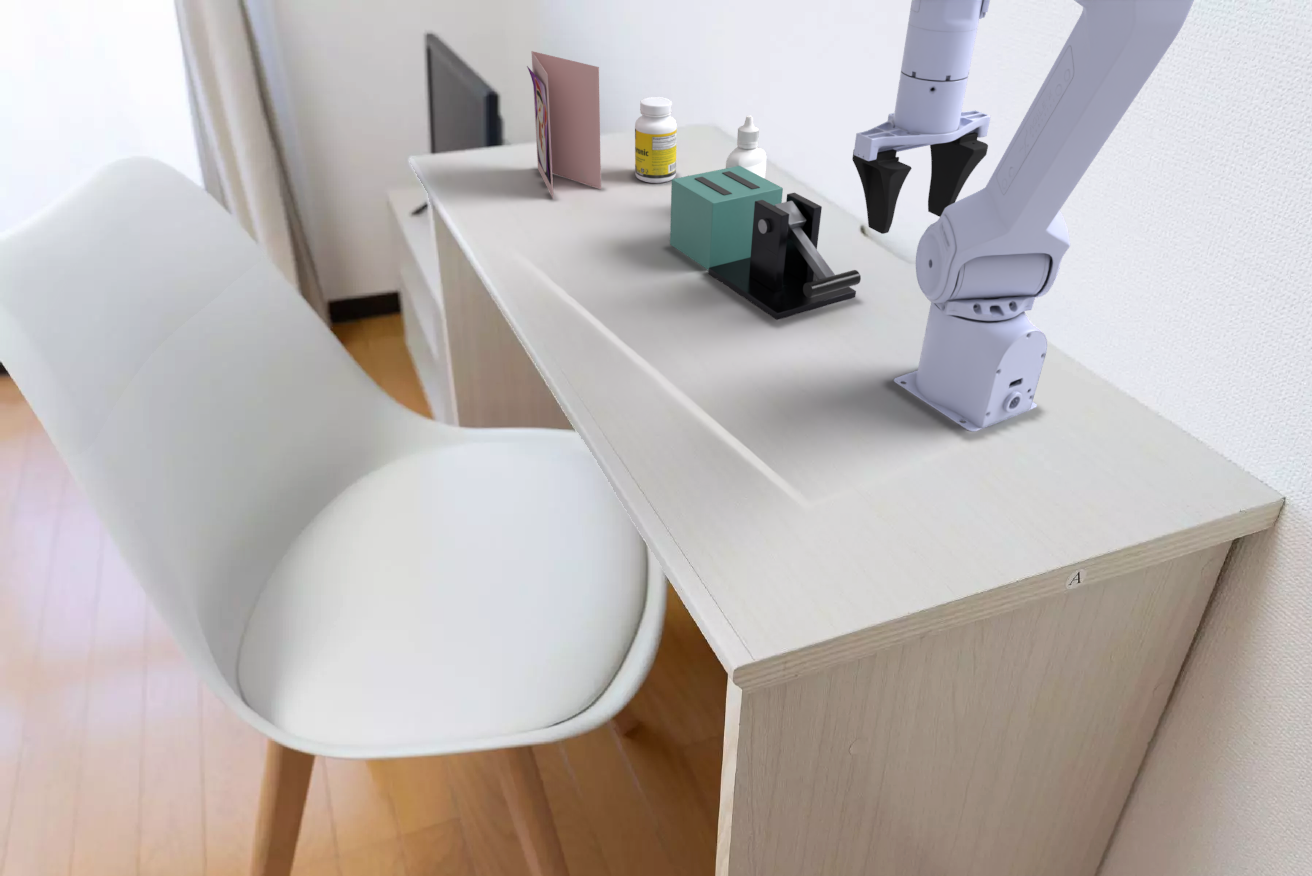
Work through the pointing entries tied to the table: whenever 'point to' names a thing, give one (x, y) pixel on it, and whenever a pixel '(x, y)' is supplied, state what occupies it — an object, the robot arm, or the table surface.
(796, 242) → the lever
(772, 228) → the switch bracket
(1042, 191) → the robot arm
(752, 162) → the eye dropper bottle
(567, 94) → the greeting card
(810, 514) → the table surface
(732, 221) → the toaster
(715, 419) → the table surface
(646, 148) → the supplement bottle
